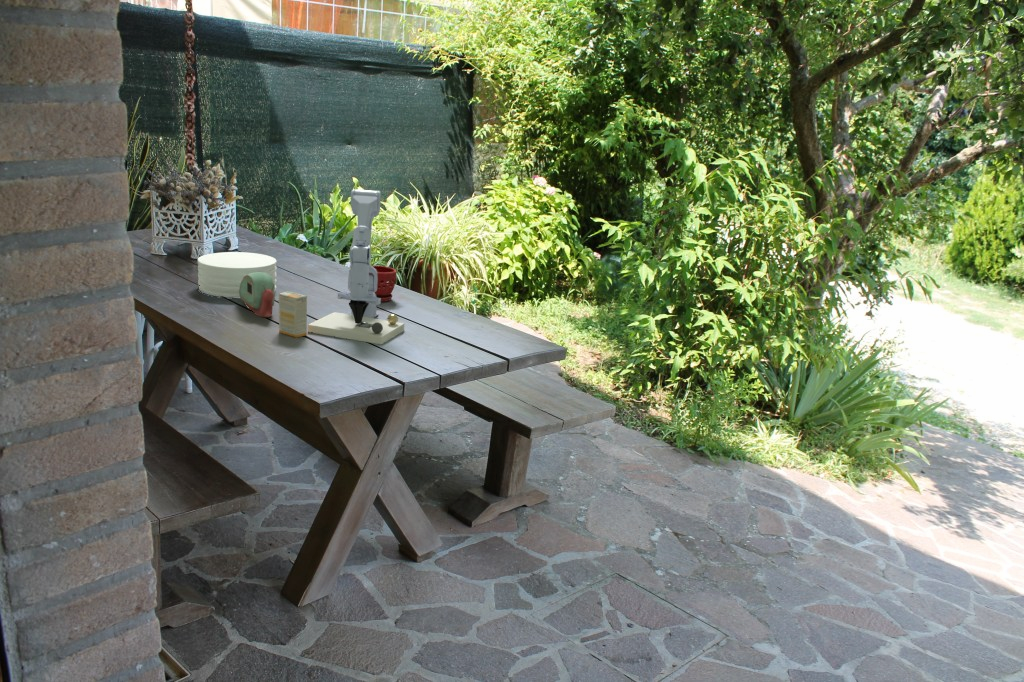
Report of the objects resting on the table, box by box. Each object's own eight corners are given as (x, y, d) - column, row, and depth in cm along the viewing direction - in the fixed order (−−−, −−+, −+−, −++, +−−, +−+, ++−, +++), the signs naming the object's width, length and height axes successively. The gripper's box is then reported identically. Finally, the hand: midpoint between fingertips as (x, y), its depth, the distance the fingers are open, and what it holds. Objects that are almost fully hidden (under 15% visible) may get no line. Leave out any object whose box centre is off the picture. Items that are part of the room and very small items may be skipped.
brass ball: (389, 322, 288) (390, 312, 287) (399, 323, 287) (399, 313, 286) (385, 324, 285) (385, 314, 284) (395, 326, 284) (395, 316, 283)
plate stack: (261, 278, 342) (261, 250, 339) (287, 295, 320) (287, 265, 317) (189, 283, 326) (188, 253, 323) (211, 301, 305) (210, 269, 301)
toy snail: (237, 302, 305) (236, 264, 301) (258, 301, 309) (258, 263, 305) (259, 321, 286) (259, 281, 282) (281, 319, 290) (282, 279, 286)
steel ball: (371, 332, 284) (363, 331, 286) (371, 321, 284) (363, 321, 285) (365, 332, 281) (356, 332, 282) (365, 321, 281) (356, 321, 282)
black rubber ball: (374, 330, 277) (374, 320, 276) (384, 332, 276) (384, 322, 275) (369, 333, 274) (370, 323, 273) (379, 335, 273) (380, 324, 272)
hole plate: (334, 319, 295) (334, 312, 294) (404, 330, 289) (404, 323, 288) (307, 331, 278) (307, 324, 278) (381, 344, 272) (381, 336, 271)
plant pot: (382, 305, 317) (383, 274, 314) (353, 299, 322) (354, 268, 319) (401, 299, 329) (403, 268, 325) (373, 293, 334) (374, 263, 330)
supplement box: (307, 335, 275) (307, 295, 271) (295, 338, 271) (296, 298, 268) (290, 329, 280) (290, 290, 276) (278, 332, 276) (278, 292, 272)
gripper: (333, 281, 277) (332, 322, 281) (374, 288, 273) (373, 329, 277) (343, 277, 283) (342, 317, 287) (384, 283, 280) (382, 323, 284)
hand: (358, 322), depth 283 cm, fingers closed
